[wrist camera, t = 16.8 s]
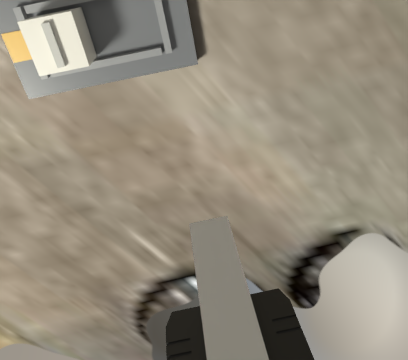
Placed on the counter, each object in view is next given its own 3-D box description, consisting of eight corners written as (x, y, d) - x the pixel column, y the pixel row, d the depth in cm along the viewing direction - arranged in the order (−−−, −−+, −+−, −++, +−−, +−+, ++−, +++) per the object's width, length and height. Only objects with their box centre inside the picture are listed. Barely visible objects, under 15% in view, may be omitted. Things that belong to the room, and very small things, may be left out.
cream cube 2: (33, 16, 29) (15, 22, 26) (81, 6, 29) (69, 11, 26) (52, 65, 31) (38, 77, 28) (96, 56, 31) (88, 67, 28)
